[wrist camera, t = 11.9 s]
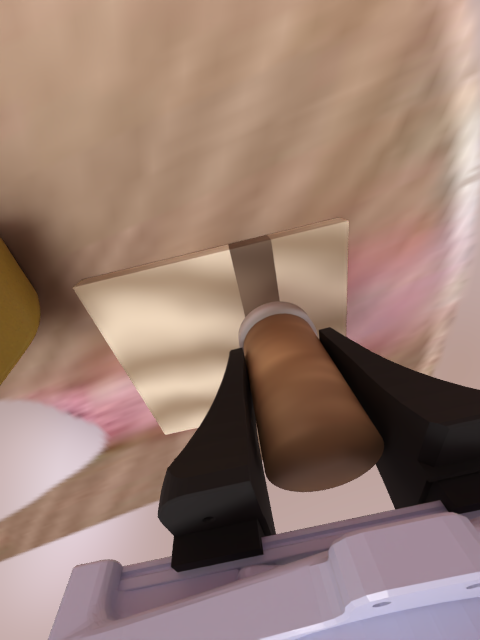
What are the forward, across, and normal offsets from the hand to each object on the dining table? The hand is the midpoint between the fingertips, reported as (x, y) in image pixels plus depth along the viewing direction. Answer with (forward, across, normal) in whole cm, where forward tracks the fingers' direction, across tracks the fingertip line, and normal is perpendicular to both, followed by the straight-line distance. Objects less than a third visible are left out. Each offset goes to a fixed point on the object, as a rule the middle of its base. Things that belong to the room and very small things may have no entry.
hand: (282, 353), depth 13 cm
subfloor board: (+9, +3, +5) cm, 11 cm away
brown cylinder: (+2, 0, 0) cm, 2 cm away
